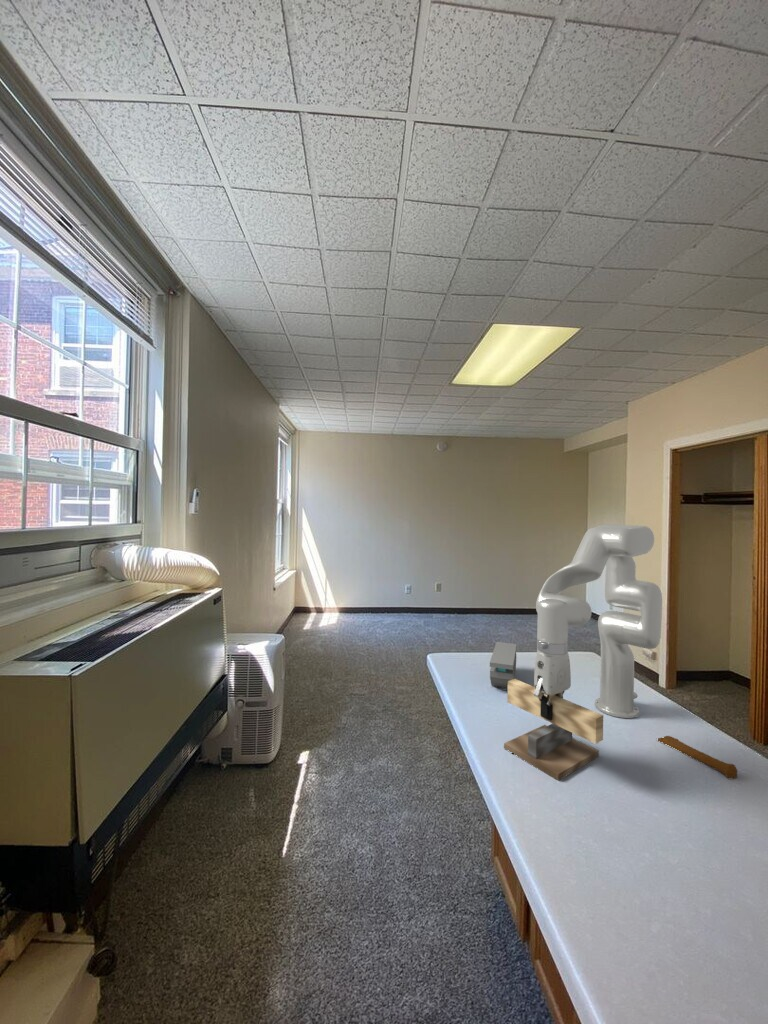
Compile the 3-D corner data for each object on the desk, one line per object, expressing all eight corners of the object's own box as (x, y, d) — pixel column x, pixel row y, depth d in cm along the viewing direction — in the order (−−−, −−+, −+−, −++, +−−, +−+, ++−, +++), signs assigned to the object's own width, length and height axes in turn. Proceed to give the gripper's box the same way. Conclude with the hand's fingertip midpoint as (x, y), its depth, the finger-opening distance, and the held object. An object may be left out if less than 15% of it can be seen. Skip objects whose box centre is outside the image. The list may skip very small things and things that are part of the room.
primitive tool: (654, 740, 119) (654, 728, 119) (668, 737, 121) (668, 725, 121) (729, 782, 101) (729, 767, 101) (744, 778, 103) (744, 763, 103)
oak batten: (602, 740, 102) (603, 715, 102) (595, 743, 100) (596, 718, 100) (514, 699, 123) (514, 678, 123) (507, 702, 121) (507, 681, 121)
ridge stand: (544, 729, 123) (545, 707, 123) (598, 756, 110) (599, 731, 110) (504, 748, 113) (504, 724, 113) (558, 780, 100) (558, 753, 100)
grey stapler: (496, 668, 171) (496, 641, 171) (516, 671, 169) (516, 644, 169) (489, 693, 148) (489, 662, 148) (512, 696, 145) (513, 665, 145)
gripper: (545, 656, 104) (544, 731, 104) (582, 645, 113) (581, 714, 113) (520, 648, 110) (519, 718, 110) (557, 638, 119) (556, 703, 119)
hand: (550, 715), depth 112 cm, fingers closed on oak batten, 3 cm apart
